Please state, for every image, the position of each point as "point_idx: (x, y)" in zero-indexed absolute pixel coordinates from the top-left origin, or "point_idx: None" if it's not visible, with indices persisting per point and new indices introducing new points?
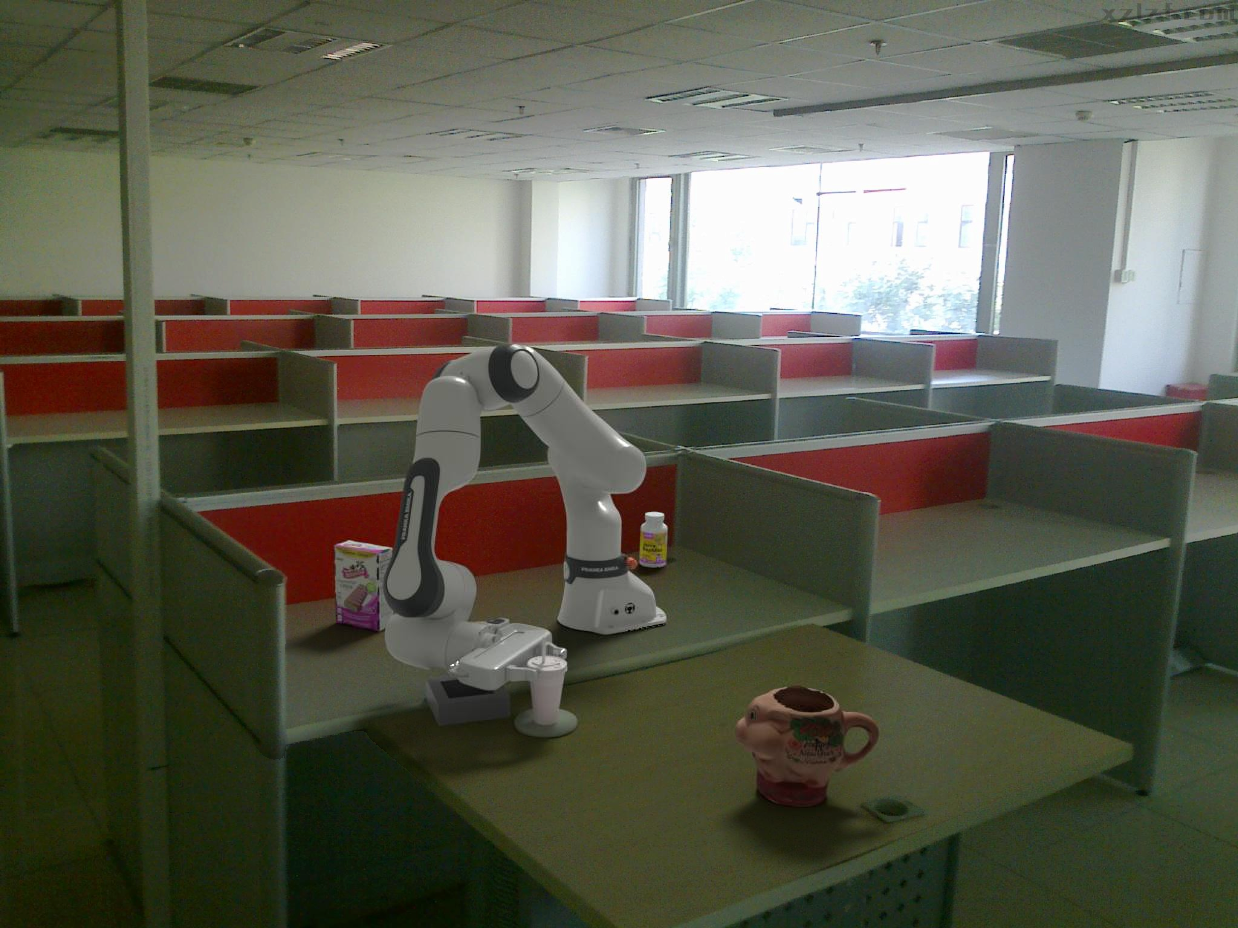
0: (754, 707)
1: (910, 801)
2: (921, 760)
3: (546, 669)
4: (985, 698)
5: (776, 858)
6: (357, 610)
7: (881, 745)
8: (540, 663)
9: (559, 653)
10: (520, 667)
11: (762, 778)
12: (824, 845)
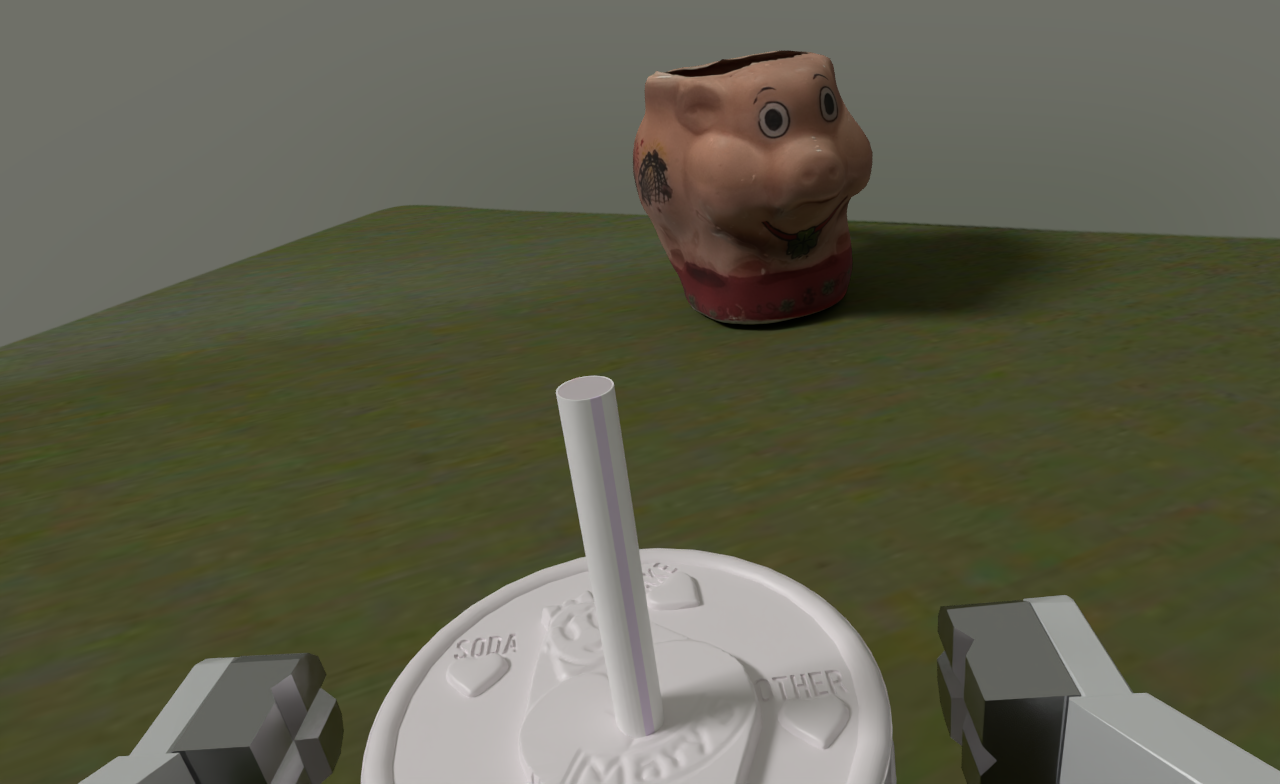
0: (819, 81)
1: None
2: (516, 261)
3: (799, 632)
4: (208, 277)
5: (1056, 252)
6: None
7: (466, 291)
8: (706, 725)
9: (302, 696)
10: (1165, 765)
11: (834, 263)
12: (939, 242)
